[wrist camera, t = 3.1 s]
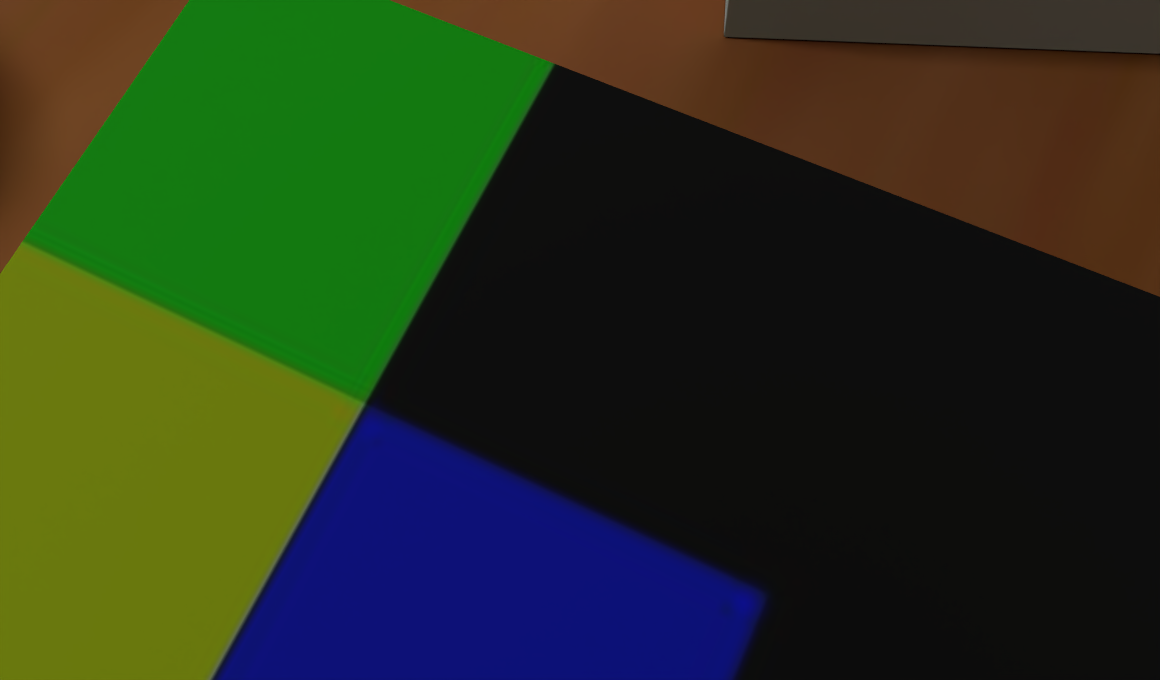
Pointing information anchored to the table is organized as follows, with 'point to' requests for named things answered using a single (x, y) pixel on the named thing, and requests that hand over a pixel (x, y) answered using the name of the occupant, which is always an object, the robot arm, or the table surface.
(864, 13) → the white square tray
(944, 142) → the table surface
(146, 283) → the puzzle toy
